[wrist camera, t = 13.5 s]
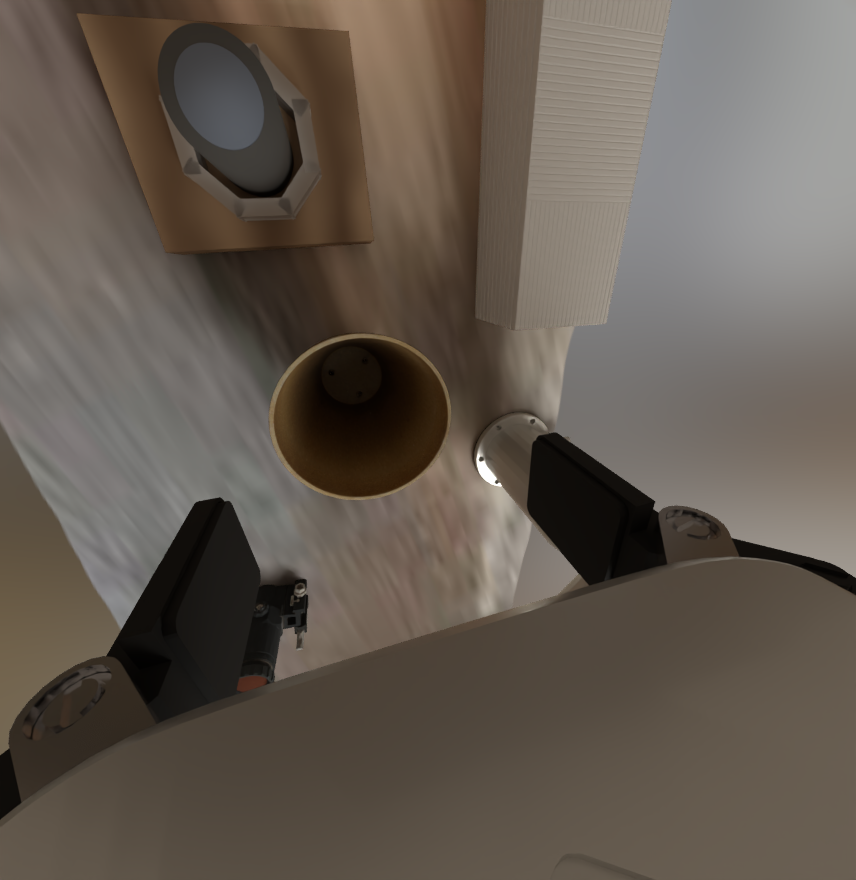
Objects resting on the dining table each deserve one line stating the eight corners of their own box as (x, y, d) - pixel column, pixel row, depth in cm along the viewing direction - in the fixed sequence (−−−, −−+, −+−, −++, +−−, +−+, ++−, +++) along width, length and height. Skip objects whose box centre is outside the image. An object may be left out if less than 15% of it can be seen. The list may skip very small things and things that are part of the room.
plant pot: (315, 444, 44) (309, 522, 30) (268, 329, 37) (232, 363, 23) (422, 412, 46) (463, 472, 32) (397, 298, 39) (435, 312, 25)
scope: (303, 697, 44) (217, 715, 42) (309, 607, 56) (242, 616, 54) (301, 658, 41) (207, 675, 38) (307, 571, 53) (236, 579, 50)
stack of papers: (548, 313, 45) (606, 323, 36) (474, 317, 43) (515, 330, 33) (596, -61, 31) (714, -207, 21) (488, -84, 28) (566, -260, 19)
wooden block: (346, 59, 30) (350, 9, 24) (369, 243, 36) (377, 238, 30) (110, 47, 26) (49, -15, 20) (183, 254, 32) (152, 250, 27)
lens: (283, 104, 27) (261, 24, 18) (301, 195, 30) (290, 166, 21) (200, 101, 26) (134, 15, 17) (227, 197, 28) (182, 166, 20)
